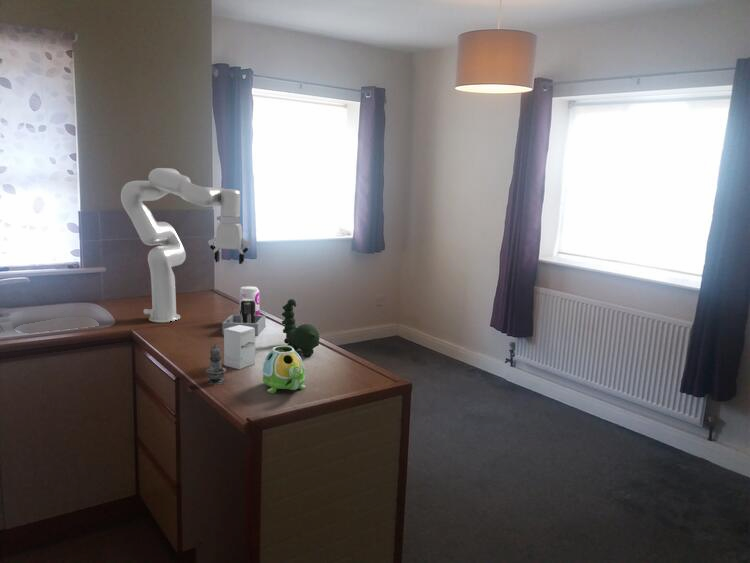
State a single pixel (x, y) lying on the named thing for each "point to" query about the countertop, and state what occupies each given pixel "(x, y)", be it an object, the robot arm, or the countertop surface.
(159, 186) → the robot arm
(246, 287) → the supplement can
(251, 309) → the beverage can
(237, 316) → the tray
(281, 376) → the turtle holder
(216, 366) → the grey tower figurine
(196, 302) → the countertop surface
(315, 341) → the toy figurine
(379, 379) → the countertop surface
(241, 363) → the supplement box
